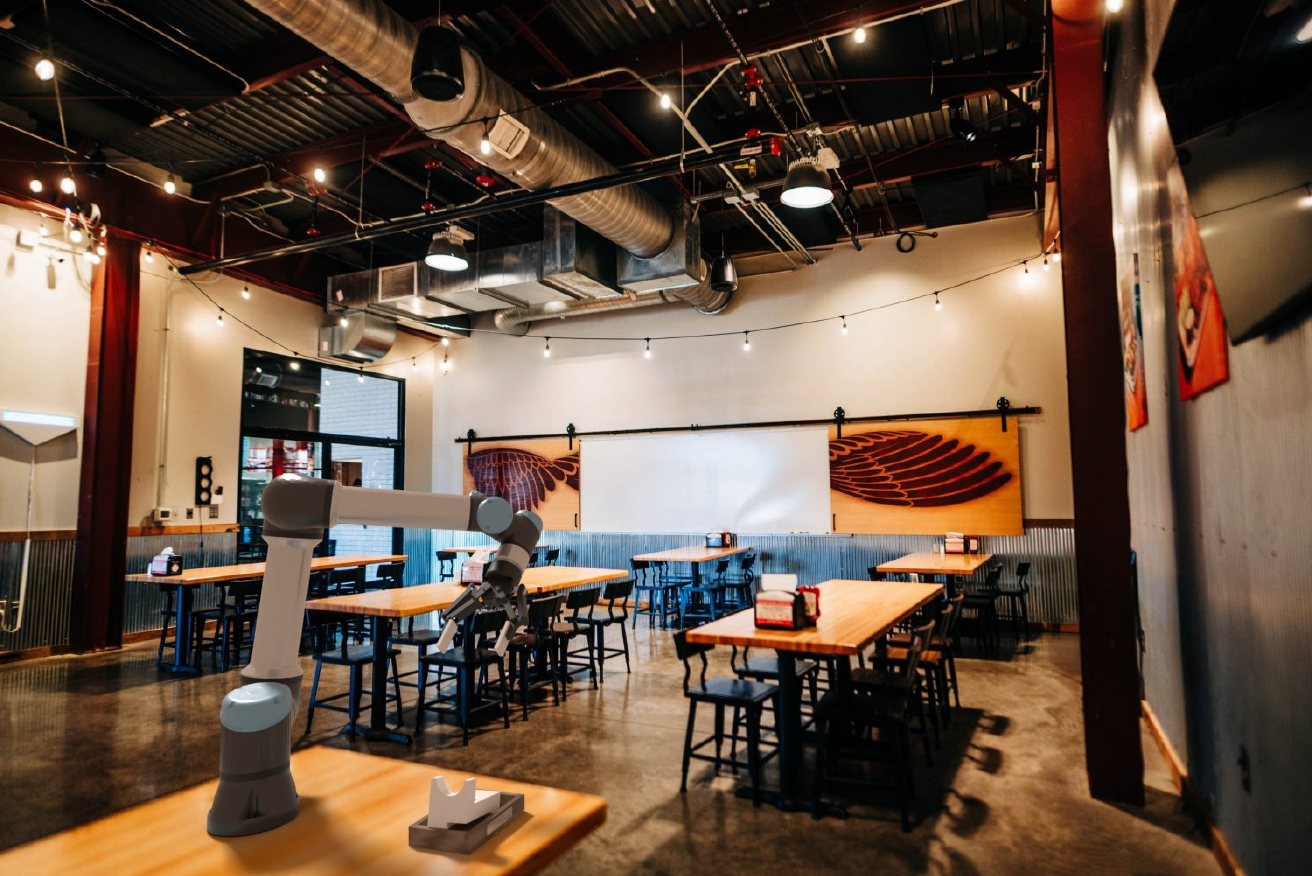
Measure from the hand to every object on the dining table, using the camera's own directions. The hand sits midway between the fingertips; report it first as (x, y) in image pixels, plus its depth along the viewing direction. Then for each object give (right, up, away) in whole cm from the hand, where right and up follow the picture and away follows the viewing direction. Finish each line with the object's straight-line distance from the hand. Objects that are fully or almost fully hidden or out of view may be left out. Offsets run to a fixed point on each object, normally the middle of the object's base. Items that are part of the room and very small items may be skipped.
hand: (469, 651), depth 150 cm
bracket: (+4, -24, -20) cm, 31 cm away
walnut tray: (+5, -26, -18) cm, 32 cm away
